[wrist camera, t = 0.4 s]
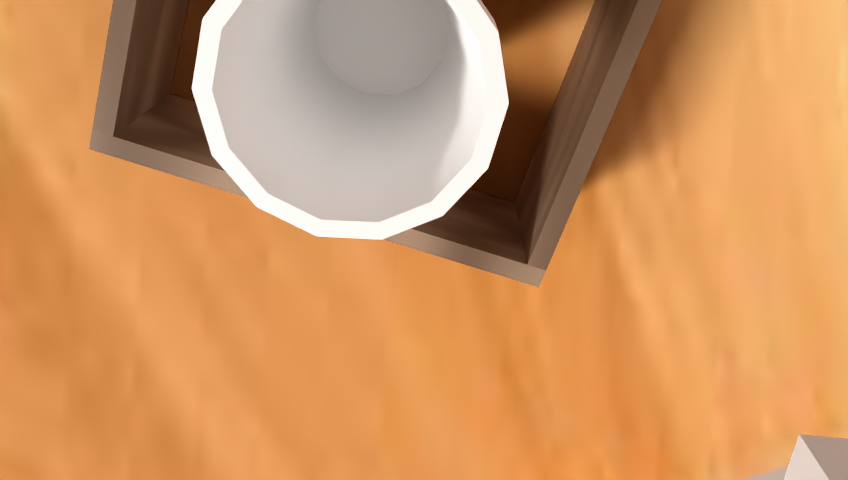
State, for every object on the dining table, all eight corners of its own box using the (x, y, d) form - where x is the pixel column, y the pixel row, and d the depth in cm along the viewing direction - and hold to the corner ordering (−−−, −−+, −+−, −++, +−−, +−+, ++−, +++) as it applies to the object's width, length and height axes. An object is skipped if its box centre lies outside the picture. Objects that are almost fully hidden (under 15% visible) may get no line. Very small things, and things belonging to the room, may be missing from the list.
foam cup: (370, -138, 33) (325, -151, 21) (532, 14, 36) (573, 78, 24) (236, 38, 36) (133, 112, 25) (393, 167, 39) (369, 293, 27)
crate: (150, 104, 38) (89, 148, 31) (210, -213, 32) (150, -236, 26) (524, 222, 40) (538, 287, 33) (638, -59, 34) (682, -47, 28)
